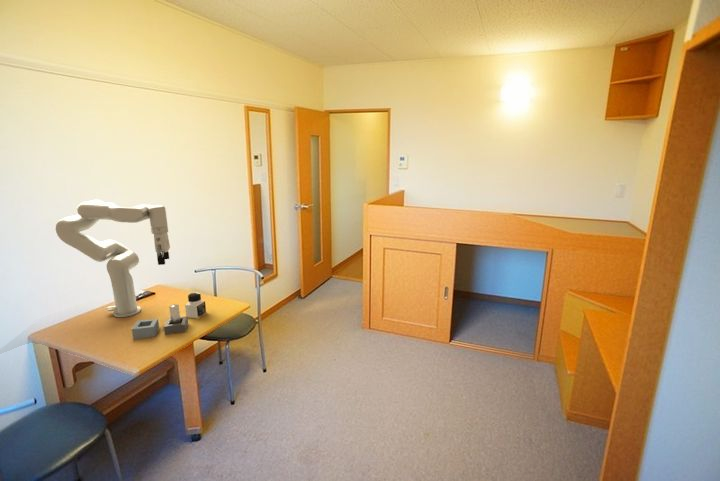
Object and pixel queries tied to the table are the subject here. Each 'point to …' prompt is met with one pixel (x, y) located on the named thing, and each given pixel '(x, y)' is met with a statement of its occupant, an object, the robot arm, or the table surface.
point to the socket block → (145, 328)
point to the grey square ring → (176, 326)
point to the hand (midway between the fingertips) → (163, 261)
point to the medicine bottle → (195, 306)
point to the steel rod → (174, 314)
